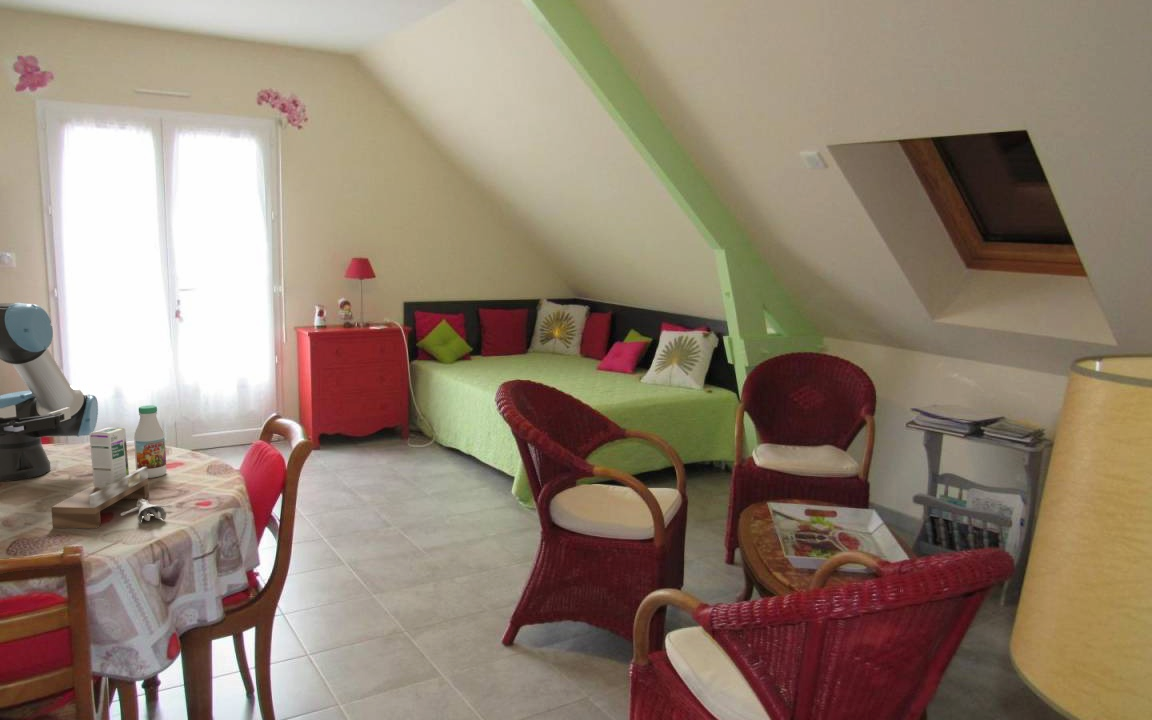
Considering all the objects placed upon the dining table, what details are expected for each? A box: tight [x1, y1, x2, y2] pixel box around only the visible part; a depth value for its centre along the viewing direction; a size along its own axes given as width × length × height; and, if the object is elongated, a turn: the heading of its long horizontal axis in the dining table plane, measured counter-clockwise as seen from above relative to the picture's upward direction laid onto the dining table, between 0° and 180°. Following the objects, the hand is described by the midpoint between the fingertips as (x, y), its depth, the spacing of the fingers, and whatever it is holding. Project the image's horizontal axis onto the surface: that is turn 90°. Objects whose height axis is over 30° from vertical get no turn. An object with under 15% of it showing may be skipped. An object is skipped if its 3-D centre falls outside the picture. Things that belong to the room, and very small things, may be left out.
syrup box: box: [88, 426, 130, 489], centre depth 202 cm, size 6×6×14 cm
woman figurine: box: [120, 498, 174, 525], centre depth 196 cm, size 12×4×18 cm
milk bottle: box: [133, 404, 167, 479], centre depth 228 cm, size 8×8×20 cm
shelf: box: [51, 467, 150, 529], centre depth 199 cm, size 24×10×8 cm, turn 1°
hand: (41, 411), depth 192 cm, fingers open, 13 cm apart
